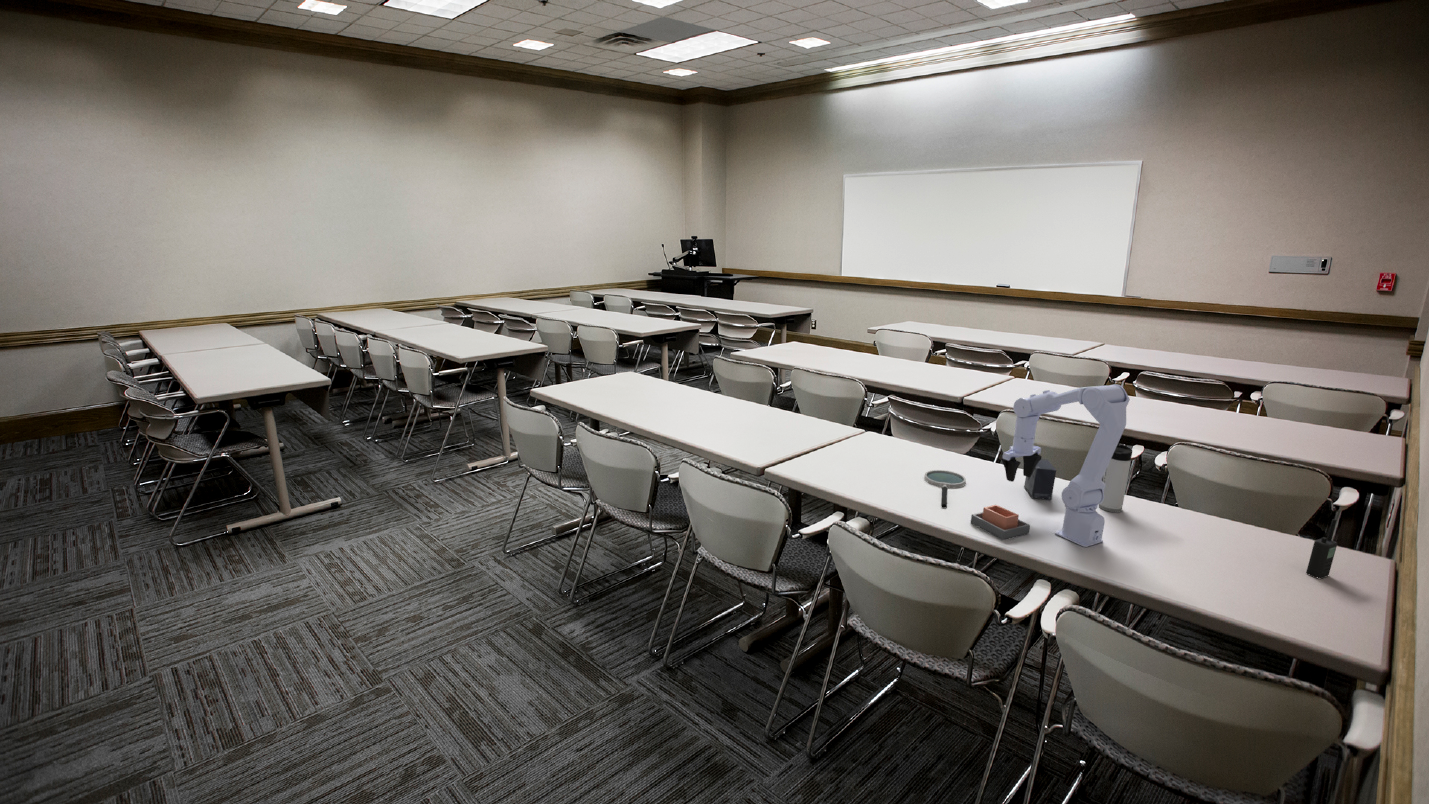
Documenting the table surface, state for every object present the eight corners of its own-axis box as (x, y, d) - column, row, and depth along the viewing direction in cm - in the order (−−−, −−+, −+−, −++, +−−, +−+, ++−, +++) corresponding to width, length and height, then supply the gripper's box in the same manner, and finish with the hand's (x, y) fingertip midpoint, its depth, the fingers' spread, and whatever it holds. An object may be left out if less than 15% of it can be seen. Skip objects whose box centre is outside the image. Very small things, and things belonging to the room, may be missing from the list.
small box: (1053, 500, 213) (1057, 469, 211) (1031, 498, 214) (1035, 468, 212) (1044, 488, 223) (1048, 458, 221) (1023, 486, 224) (1027, 457, 222)
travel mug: (1124, 508, 208) (1135, 447, 203) (1118, 514, 204) (1130, 452, 198) (1101, 502, 212) (1112, 442, 207) (1096, 508, 208) (1106, 447, 202)
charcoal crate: (1028, 534, 190) (1030, 525, 189) (1002, 541, 186) (1004, 531, 185) (995, 518, 201) (996, 508, 200) (970, 523, 197) (971, 514, 196)
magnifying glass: (921, 506, 209) (921, 500, 209) (925, 472, 238) (925, 467, 237) (966, 512, 205) (967, 506, 205) (964, 477, 233) (965, 472, 233)
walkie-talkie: (1319, 579, 167) (1334, 524, 163) (1303, 573, 170) (1318, 518, 166) (1330, 575, 169) (1345, 521, 165) (1314, 569, 172) (1328, 515, 168)
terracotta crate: (1016, 531, 191) (1018, 514, 190) (1004, 534, 189) (1006, 518, 188) (993, 520, 198) (995, 504, 197) (981, 523, 196) (983, 507, 194)
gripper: (1029, 429, 209) (1023, 470, 212) (996, 435, 202) (991, 477, 206) (1049, 435, 203) (1043, 477, 206) (1016, 442, 196) (1010, 485, 200)
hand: (1018, 478), depth 206 cm, fingers open, 7 cm apart
